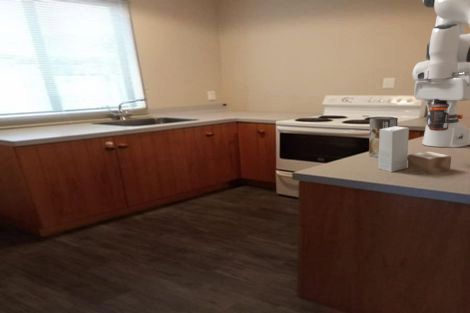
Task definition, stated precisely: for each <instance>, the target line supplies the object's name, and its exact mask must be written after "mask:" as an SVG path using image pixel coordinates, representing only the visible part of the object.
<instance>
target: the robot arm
mask: <svg viewBox="0 0 470 313" xmlns="http://www.w3.org/2000/svg"><path fill="white" fill-rule="evenodd" d="M422 3H423V6H425V8H431V9H433V8H434V12H435V14H436V18H435V19H436V20H435V24H434V27H433V28H432V30H431V35H430V39H429V42H428V44H426V54H425V58H426V60H424V61H420V62H417V63H416V64H415V66H414V67H413V69H412V73H411V74H412V79H413V80H414V82H415V84H414V88H413V89H414V92H413V93H414V95H413V96H414V98H415V100H421V101H422V100H423V101H424V103H425V105H426V107H427V114H426V125H425V128H424V135H423V139H422V140H421V142H422V143H421V144H422V145H424V146H429V147H437V148H438V147H439V148H440V147H442V148H462V147H466V146H470V132H469V129H468V128H466V126H464V125H462V124H461V123H460V122H459V121H460V120H463V119H464V115H463V114H458V113H457V109H458V108H457V106H458V102H464V101H465V102H466V101H469V100H470V32H469V33H464V31H465V23H466V24H468V28H470V0H422ZM434 99H439V100H447V104H449V107H448V108H447V109H445V113H446V114H449V124H448V129H447V130H444V131H434V130H430V129H429V120H430V107H431V105H433V104H434Z"/></svg>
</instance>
